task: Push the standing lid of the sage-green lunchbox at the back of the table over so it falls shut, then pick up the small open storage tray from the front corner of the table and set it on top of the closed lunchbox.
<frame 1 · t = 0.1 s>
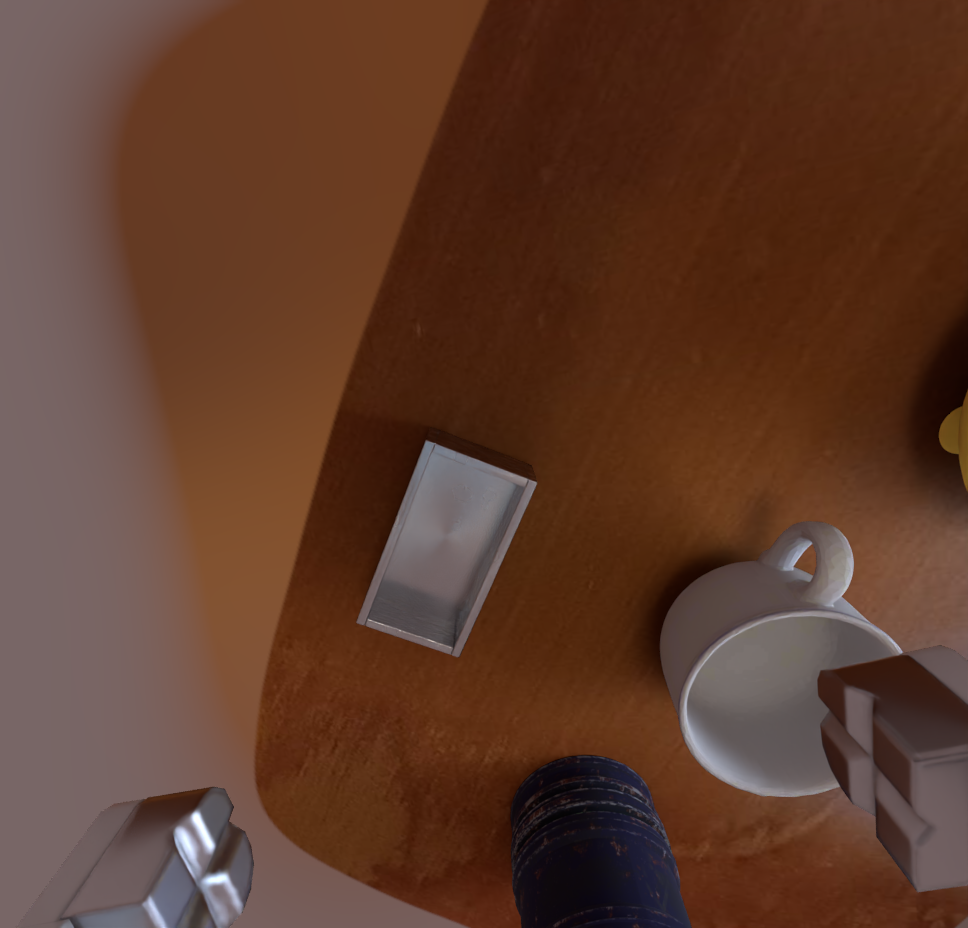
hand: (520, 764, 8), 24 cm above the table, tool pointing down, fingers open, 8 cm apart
open storage tray: (446, 532, 33), on the table
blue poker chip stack: (581, 810, 39), on the table
teacup: (738, 596, 34), on the table
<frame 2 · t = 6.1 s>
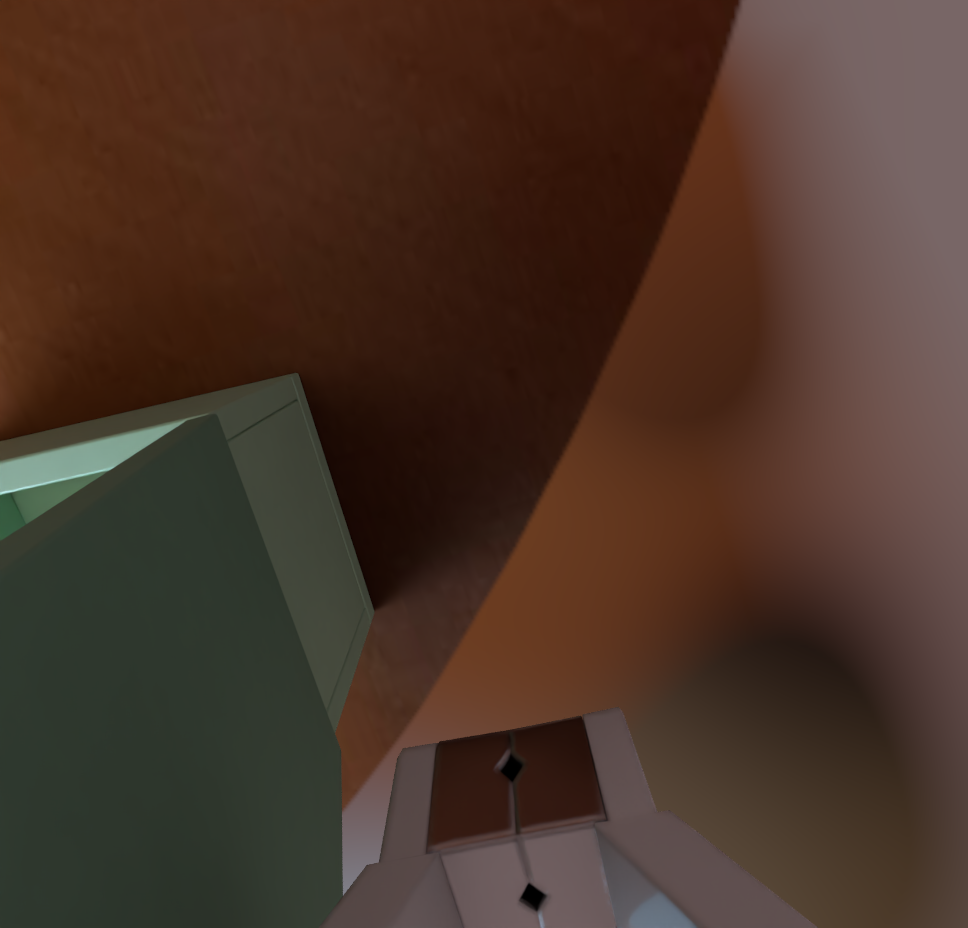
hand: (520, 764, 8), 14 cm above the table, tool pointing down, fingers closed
lunchbox: (189, 532, 21), on the table
lunchbox lid: (226, 793, 8), point 13 cm above the table, hinge at 104.0°, touching gripper
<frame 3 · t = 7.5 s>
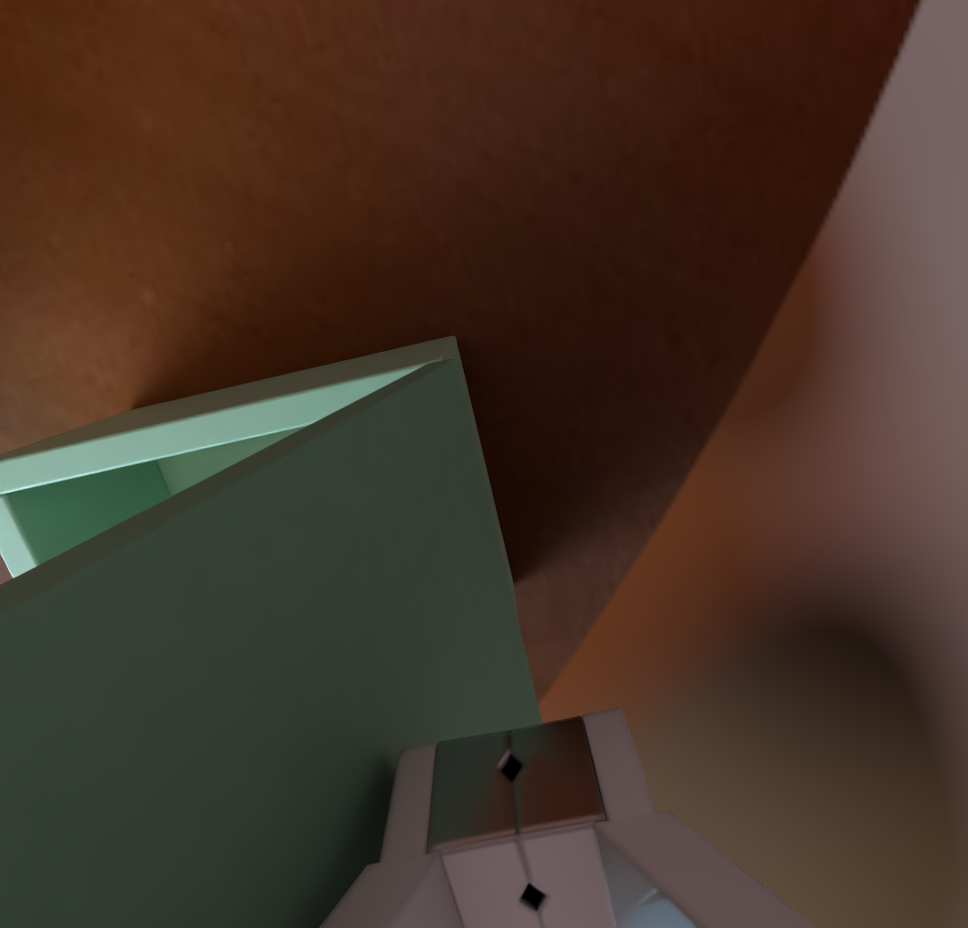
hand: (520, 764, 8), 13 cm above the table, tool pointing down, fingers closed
lunchbox: (330, 502, 21), on the table
lunchbox lid: (382, 772, 8), point 13 cm above the table, hinge at 74.1°, touching gripper
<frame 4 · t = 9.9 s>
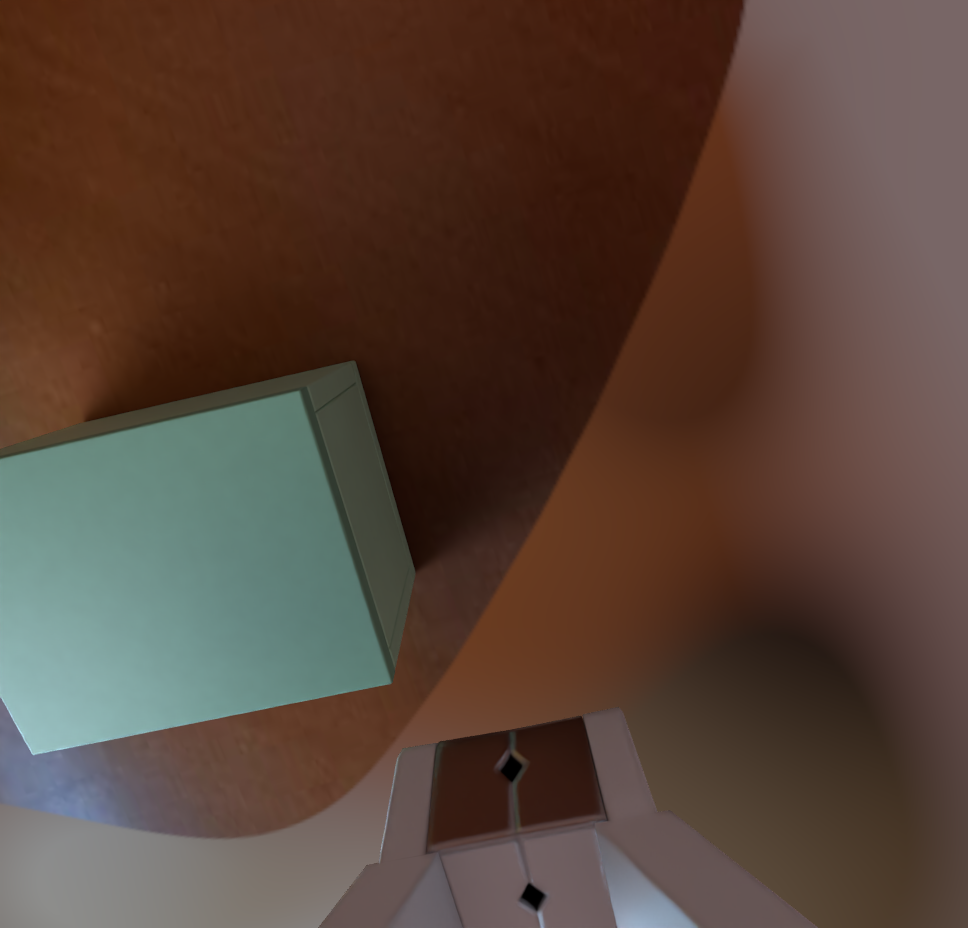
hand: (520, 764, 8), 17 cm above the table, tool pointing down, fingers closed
lunchbox: (255, 501, 24), on the table
lunchbox lid: (159, 584, 17), point 7 cm above the table, hinge at -0.2°
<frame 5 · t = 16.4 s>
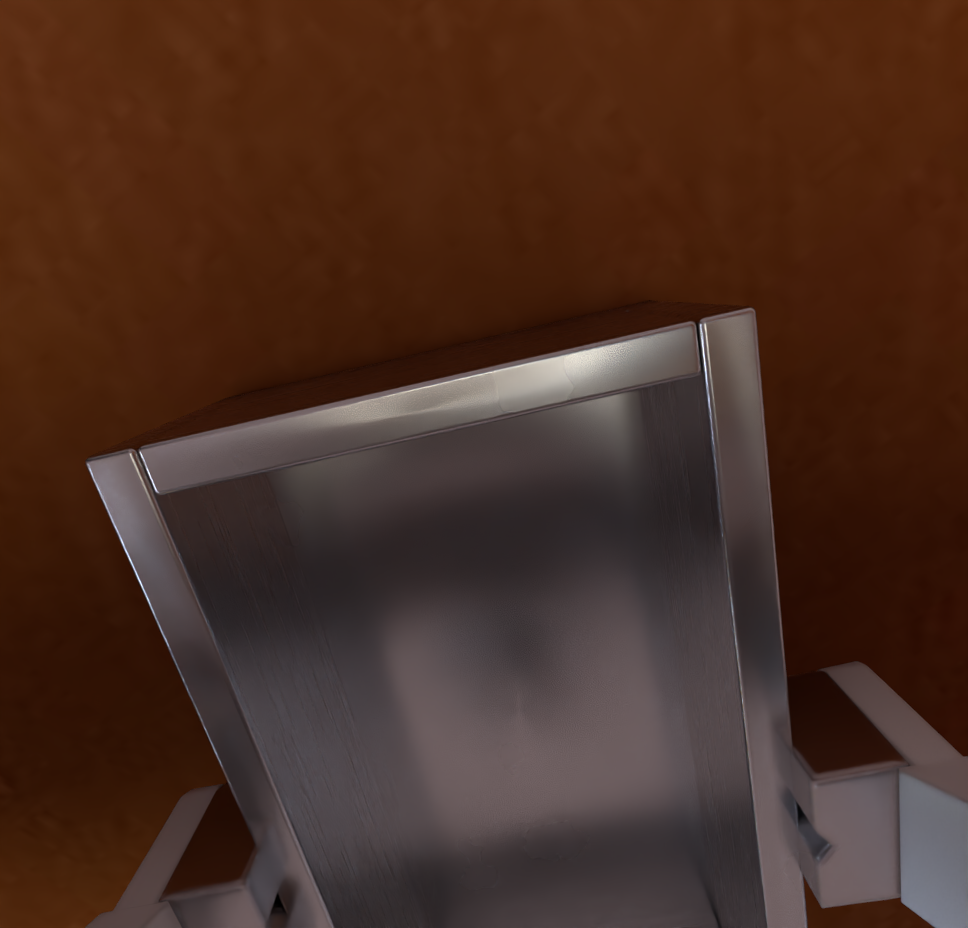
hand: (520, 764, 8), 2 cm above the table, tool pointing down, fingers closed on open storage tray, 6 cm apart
open storage tray: (516, 683, 9), on the table, touching gripper
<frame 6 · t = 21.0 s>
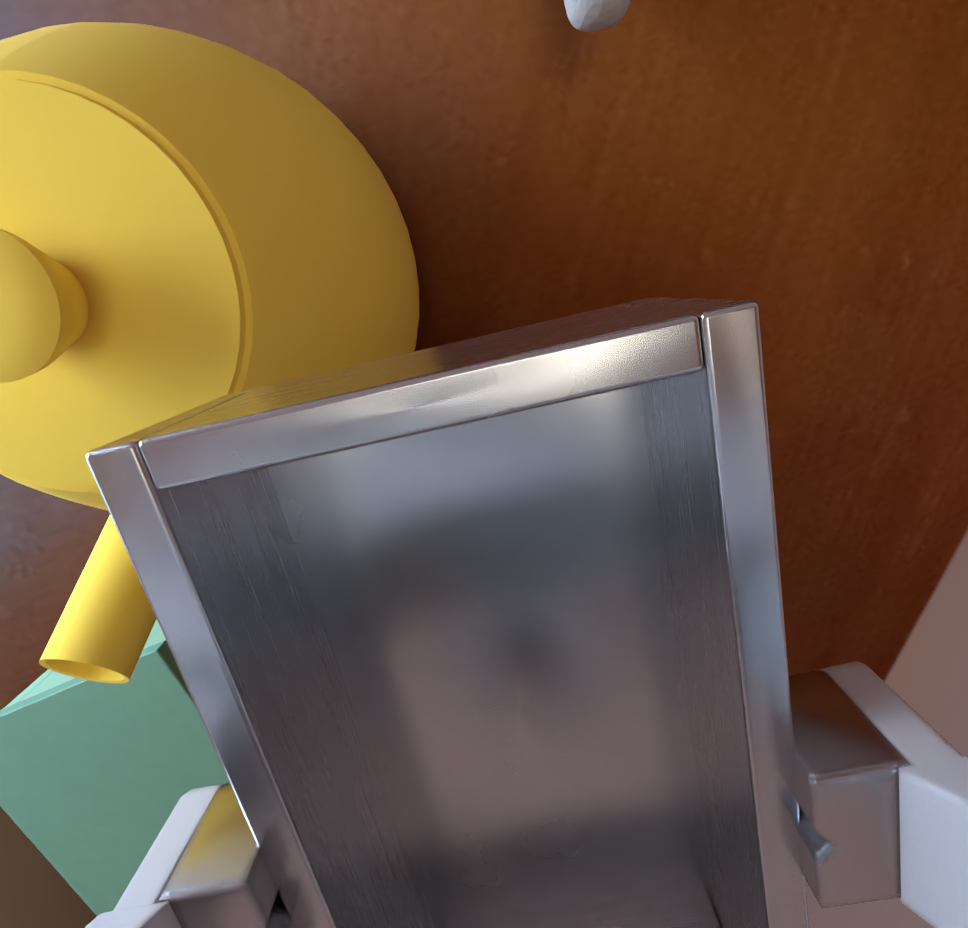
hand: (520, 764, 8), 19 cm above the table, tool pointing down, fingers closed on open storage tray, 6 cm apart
lunchbox: (224, 693, 30), on the table
open storage tray: (516, 681, 9), point 18 cm above the table, touching gripper
lunchbox lid: (144, 806, 23), point 7 cm above the table, hinge at -0.2°
teapot: (241, 348, 25), on the table
when the fingers open (9 cm above the table, at t = 25.6 s): open storage tray stays where it is, resting on lunchbox lid.
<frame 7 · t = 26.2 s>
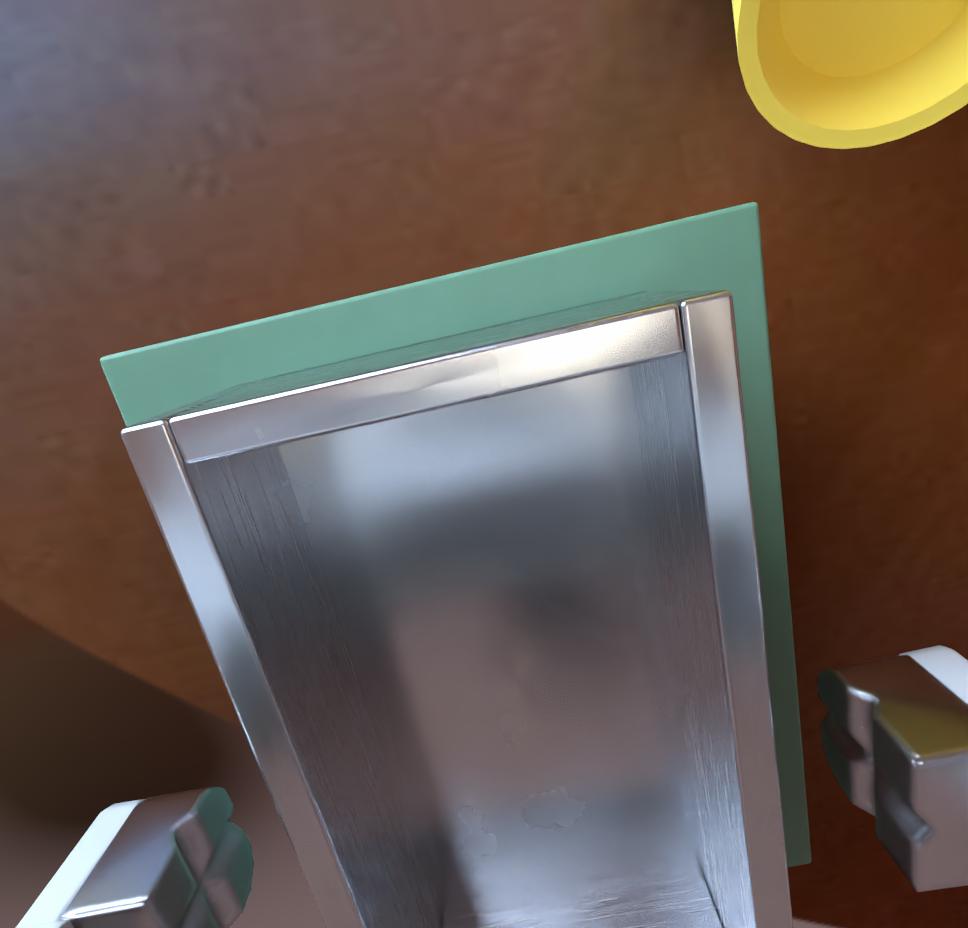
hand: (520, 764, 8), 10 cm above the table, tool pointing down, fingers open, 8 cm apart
open storage tray: (515, 658, 10), point 8 cm above the table, touching lunchbox lid
lunchbox lid: (506, 637, 10), point 7 cm above the table, hinge at -0.2°, touching lunchbox, open storage tray
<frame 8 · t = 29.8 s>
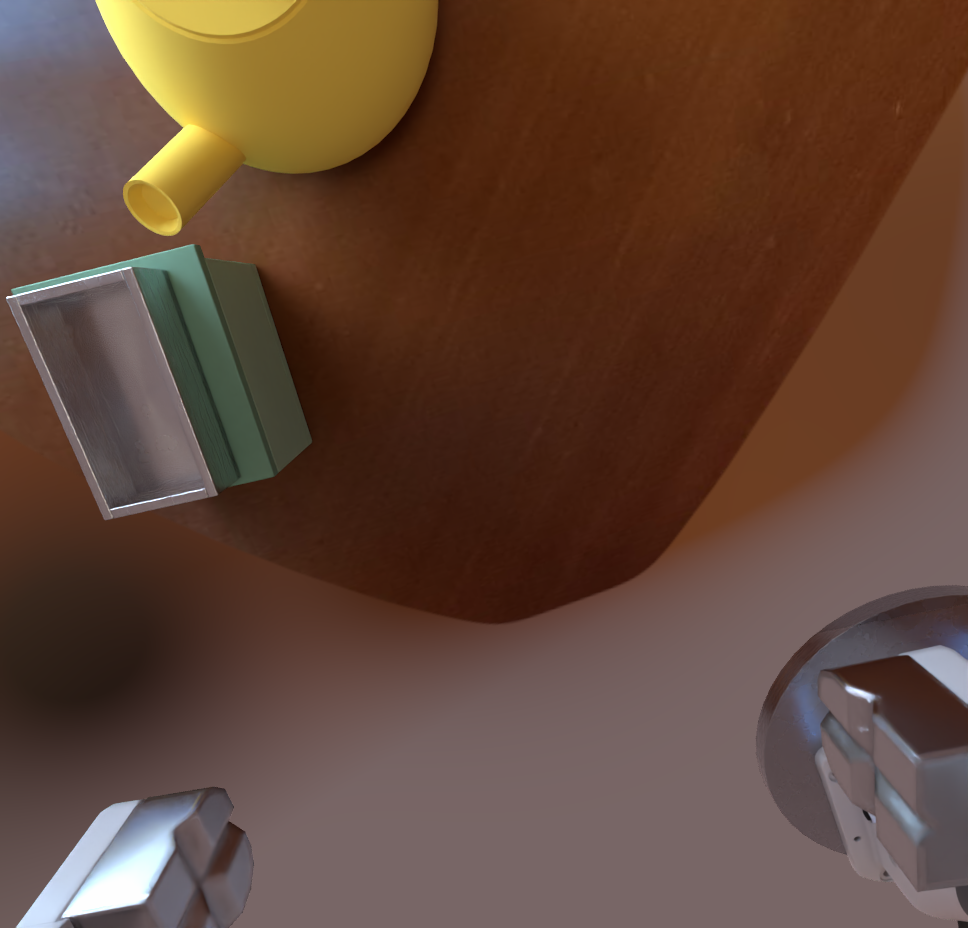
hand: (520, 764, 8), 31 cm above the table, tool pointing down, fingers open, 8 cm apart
lunchbox: (214, 373, 37), on the table
open storage tray: (151, 391, 30), point 8 cm above the table, touching lunchbox lid
lunchbox lid: (152, 386, 30), point 7 cm above the table, hinge at -0.2°, touching lunchbox, open storage tray
teapot: (290, 75, 33), on the table
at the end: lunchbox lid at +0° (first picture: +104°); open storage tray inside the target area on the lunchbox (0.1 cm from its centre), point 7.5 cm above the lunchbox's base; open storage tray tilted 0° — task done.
